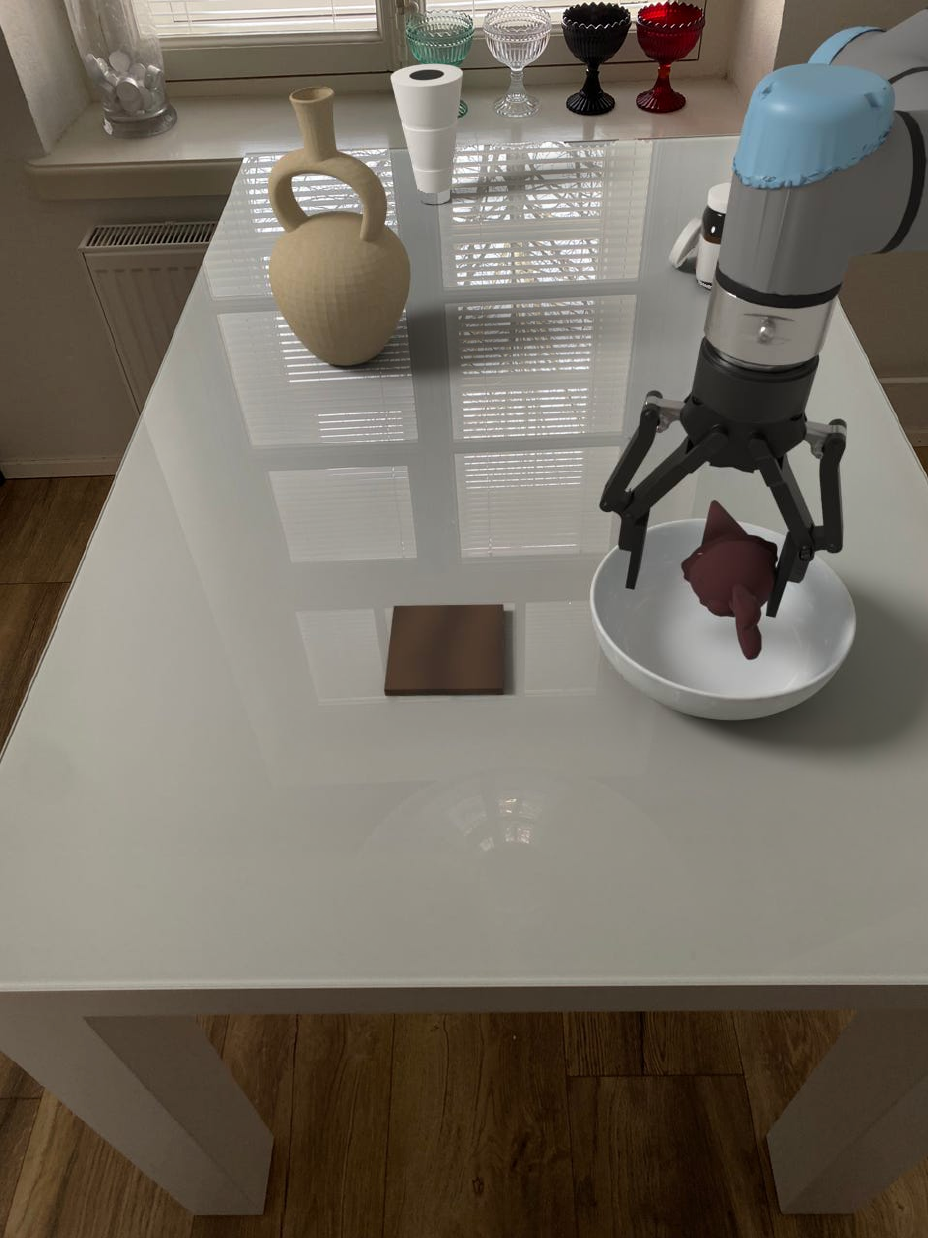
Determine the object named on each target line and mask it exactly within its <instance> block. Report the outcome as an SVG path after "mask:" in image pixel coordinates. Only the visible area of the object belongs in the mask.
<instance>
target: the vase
mask: <svg viewBox="0 0 928 1238" xmlns="http://www.w3.org/2000/svg"><path fill="white" fill-rule="evenodd" d="M335 94H336V92H335V91H334V90H333V89H332V88H330V87H325V86H310V87H309V86H308V87H304V88H299V89H297V90H296V91H293V92H291V94H290V95H289V100H290V102H291V105H292V107H293V109H294V111H295V115H296V118H297V121H298V125H299V130H300V133H301V137H302V144H303V146H304V147H302V148H299V149H295V150H291V151H289V152H288V153H286V154H284V155H283V156H280V158H279V159H278V160H277V161H276V162H275V163H274V165H273V166H272V168H271V170H270V173H269V175H268V180H267V196H268V200H269V205H270V208H271V210H272V213H273V215H274V217H275V219H276V220H277V222H278V223H279V224H280V226H281V227H282V229H283V230H284V231H283V233H282V234H281V235H280V236H279V237H278V238H277V239H276V242H275V243H274V245H273V247H272V250H271V252H270V255H269V259H268V269H267V270H268V272H267V273H268V281H269V286H270V290H271V293H272V297H273V299H274V302H275V304H276V306H277V308H278V310H279V311H280V314H281V315H282V317H283V320H284V321H285V322H286V324H287V326H288V327H289V329H290V330H291V331H292V333H293V335H295V336H296V338H297V339H298V341H299V342H300V343H301V344H302V345H303V346H304V347H305V348H306V350H307V351H309V352H310V353H311V354H312V355H313V356H315V357H316V358H317V359H319V360H320V361H323V362H325V363H327V364H331V365H335V366H344V367H349V366H355V365H360V364H364V363H365V362H368V361H370V360H372V359H373V358H375V357H376V356H378V355H379V354H380V353H381V352H382V351H383V350H384V348H385V347H386V346H387V345H388V343H389V341H390V340H391V339H392V337H393V335H394V333H395V331H396V329H397V326H398V324H399V322H400V320H401V318H402V316H403V313H404V310H405V308H406V304H407V301H408V297H409V292H410V286H411V276H412V274H411V264H410V259H409V254H408V252H407V249H406V247H405V245H404V244H403V242H402V240H401V238H400V237H399V236H398V234H396V233H395V232H394V231H393V230H392V229H391V227H389V226H388V225H386V219H387V215H388V200H387V194H386V193H387V192H386V189H385V187H384V185H383V183H382V181H381V180H380V178H379V177H378V175H377V174H376V172H375V171H374V170H373V169H372V168H371V167H369V165H367V164H366V163H365V162H363V161H362V160H360V159H359V158H357V157H355V156H353V155H350V154H347V153H345V152H343V151H340V150H338V149H337V142H336V135H335V134H336V133H335V124H334V101H335ZM310 174H312V175H313V174H314V175H322V176H327V177H330V178H333V179H336V180H338V181H341V182H342V183H344V184H346V185H347V186H349V187H350V188H351V189H352V190H353V191H354V192H355V193H356V195H357V196H358V198H359V200H360V202H361V206H362V213H360V212H357V211H356V212H354V211H348V210H329V211H322V212H318V213H314V214H311V215H308V214H307V213H306V212H305V211H304V210H303V208H302V207H301V205H300V203H298V200H297V199H296V197H295V194H294V190H293V185H292V184H293V178H294V177H299V176H301V175H310Z"/></svg>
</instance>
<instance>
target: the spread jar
mask: <svg viewBox="0 0 928 1238" xmlns="http://www.w3.org/2000/svg"><path fill="white" fill-rule="evenodd" d="M730 187H731V182H723V183H719V184H716V185H714V186H712V187H711V188H709V190H708V195H707V205H706V206H705V208H704V209H703V213H702V217H701V218H700V217H698V216H695V217H693V218H692V219H691V220H690V221H689V222H688V224H686V226H685V228H683V230H682V232H681V233H680V235H679V236H678V238H677V240H676V241H675V244H674V246H673V247H672V249H671V251H670V254H669V257H668V261H670V262H672V263H675V264H678V263H679V262H680V261H681V260H682V259H683V258H684V257H685V256H686V255H687V254H688V253H689V252H690V251H691V250H692V249H693V248H694V247H695V246H696V247H697V252H696V259H695V269H696V273H697V277H698V279H699V280H700V281H701V282H702V283H704V284H706V285H710V286H712V282H713V277H714V271H715V270H716V265H717V260H718V257H719V252H720V246H721V240H722V234H723V228H724V222H725V216H726V210H727V205H728V199H729V193H730ZM696 247H695V248H696ZM668 261H667V262H668Z"/></svg>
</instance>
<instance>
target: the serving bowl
mask: <svg viewBox="0 0 928 1238" xmlns="http://www.w3.org/2000/svg"><path fill="white" fill-rule="evenodd" d="M706 521H707V517H706V518H705V517H704V518H701V517H700V518H687V519H678V520H673V521H667V522H663V523H660V524H659V523H658V524H656V525H653V526H650V527H647V531H646V537H645V543H644V548H643V554H642V560H641V566H640V570H639V574H638V578H637V582H636V586H635V590H632V589H627V588H625V587H626V581H627V574H628V568H629V562H630V556H631V552H629V551H624V550H620V549H619V546H618V544H617V545H616V546H614V547H613V548H612V549H611V550H610V551H609V552H608V553H607V554H606V555H605V557H604V558H603V559H602V561H601V562H600V563H599V565H598V567H597V568H596V571H595V572H594V575H593V578H592V580H591V584H590V591H589V607H590V613H591V620H592V625H593V629H594V633H595V635H596V639H597V642H598V643H599V645H600V648H601V650H602V651H603V653H604V655H605V657H606V658H607V660H608V661H609V662H610V664H611V665H612V667H613V668H614V669H615V670H616V671H617V672H618V674H620V676H621V677H622V678H623V679H624V680H626V682H628V683H629V684H630V685H631V686H632V687H634V688H635V689H636V690H637V691H638V692H640V693H642V694H643V695H644V696H646V697H648V698H649V699H650V700H652V701H654V702H656V703H658V704H660V705H662V706H665V707H667V708H669V709H672V710H674V711H677V712H680V713H683V714H686V715H690V716H694V717H698V718H704V719H710V720H719V721H742V720H743V721H744V720H753V719H759V718H763V717H768V716H772V715H775V714H778V713H781V712H785V711H787V710H789V709H791V708H794V707H795V706H798V705H800V704H802V703H803V702H805V701H806V700H808V699H810V698H811V697H812V696H814V695H815V694H816V693H818V692H819V691H820V690H822V688H823V687H824V686H826V685H827V684H828V682H829V681H830V680H831V679H833V677H834V676H835V674H836V673H837V672H838V671H839V670H840V668H841V666H842V665H843V663H844V662H845V660H846V658H847V657H848V655H849V653H850V651H851V649H852V646H853V644H854V641H855V637H856V631H857V615H856V609H855V605H854V600H853V599H852V596H851V594H850V592H849V590H848V588H847V586H846V584H845V583H844V581H843V579H842V578H841V576H839V574H838V573H837V572H836V571H835V570H834V568H833V567H832V566H831V565H829V563H828V562H827V561H825V559H823V558H822V557H821V556H819V555H818V554H817V553H816V552H815V555H814V559H813V560H812V561H810V562H809V565H808V568H807V571H806V573H805V576H804V579H803V580H802V581H801V582H800V583H793V582H788V581H787V584H786V587H785V590H784V593H783V596H782V599H781V603H780V606H779V609H778V612H777V615H776V618H773V617H768V616H766V608H767V602H766V603H765V604H764V605H763V606H762V607H761V613H762V614H761V618H760V621H759V622H758V624H757V626H758V628H759V631H760V633H761V636H762V650H761V652H760V654H759V656H758V658H756V659H753V660H747V659H746V658H745V656H744V655H743V653H742V650H741V647H740V644H739V641H738V637H737V631H736V623H735V617H734V618H732V617H727V616H726V617H719V616H716V615H714V614H712V613H711V612H710V611H708V608H707V607H706V606H703V605H702V604H700V601H699V598H698V596H697V595H696V594H695V593H694V591H693V589H692V586H691V584H690V583H689V582H688V581H686V580H685V579H684V573H683V570H682V568H681V563H682V562H683V561H684V560H685V559H687V558H688V557H690V556H691V555H692V553H693V552H694V551H695V550H696V549H697V548H698V547H700V546H701V543H702V538H703V534H704V530H705V525H706ZM735 521H736V522H737V523H738V524H739V525H740V526H741V527H742V528H743V529H744V530H745V531H746V532H747V534H748V535H757V536H759V537H762V538H763V539H765V540H766V541H770V542H774V543H775V544H777V547H778V551H777V556H778V560H779V557H780V554H781V551H782V548H783V545H784V541H785V538H786V535H784V534H783V533H780V532H777V531H775V530H773V529H769V528H766V527H764V526H760V525H757V524H753V523H749V522H744V521H740V520H735ZM777 564H778V561H777V563H776V567H777Z"/></svg>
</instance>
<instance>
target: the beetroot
mask: <svg viewBox="0 0 928 1238" xmlns="http://www.w3.org/2000/svg"><path fill="white" fill-rule="evenodd" d="M706 518H707V521H706V525H705V530H704V534H703V538H702V543H701V546H700V547H698V548H697V549H696V550H695V551H694V552H693V553H692V555H691V556H690V557H688V558H687V559H685V560H684V561H683V562H682V563H681V568H682V570H683V573H684V579H685V580H686V581H688V582H689V583H690V584H691V586H692V589H693V591H694V593H695V594H696V595H697V596H698V598H699V601H700V604H702V605H703V606H706V607H707V608H708V611H710V612H711V613H712V614H714V615H716V616H719V617H726V616H727V617H732V618H734V617H735V623H736V631H737V637H738V641H739V644H740V647H741V650H742V653H743V655H744V656H745V658H746V659H747V660H753V659H756V658H758V656H759V654H760V652H761V650H762V636H761V633H760V631H759V628H758V626H757V624H758V622H759V621H760V618H761V614H762V613H761V607H762V606H763V605H764V604H765V603H766V602H767V601H768V598H769V596H770V594H771V591H772V589H773V586H774V583H775V580H776V577H777V571H776V563H777V561H778V556H777V551H778V547H777V544H775V543H774V542H770V541H766V540H765V539H763V538H762V537H759V536H757V535H748V534H747V532H746V531H745V530H744V529H743V528H742V527H741V526H740V525H739V524H738V523H737V522H736V521H737V520H735V518H734V517H733V516H732V515H731V514H730V513H729V511H727V509H726V508H725V507H724V506H723V505H722V504H721V503H720V502H719V501H718V500H716V499H713V500H711V501H710V505H709V508H708V512H707V517H706Z"/></svg>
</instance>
